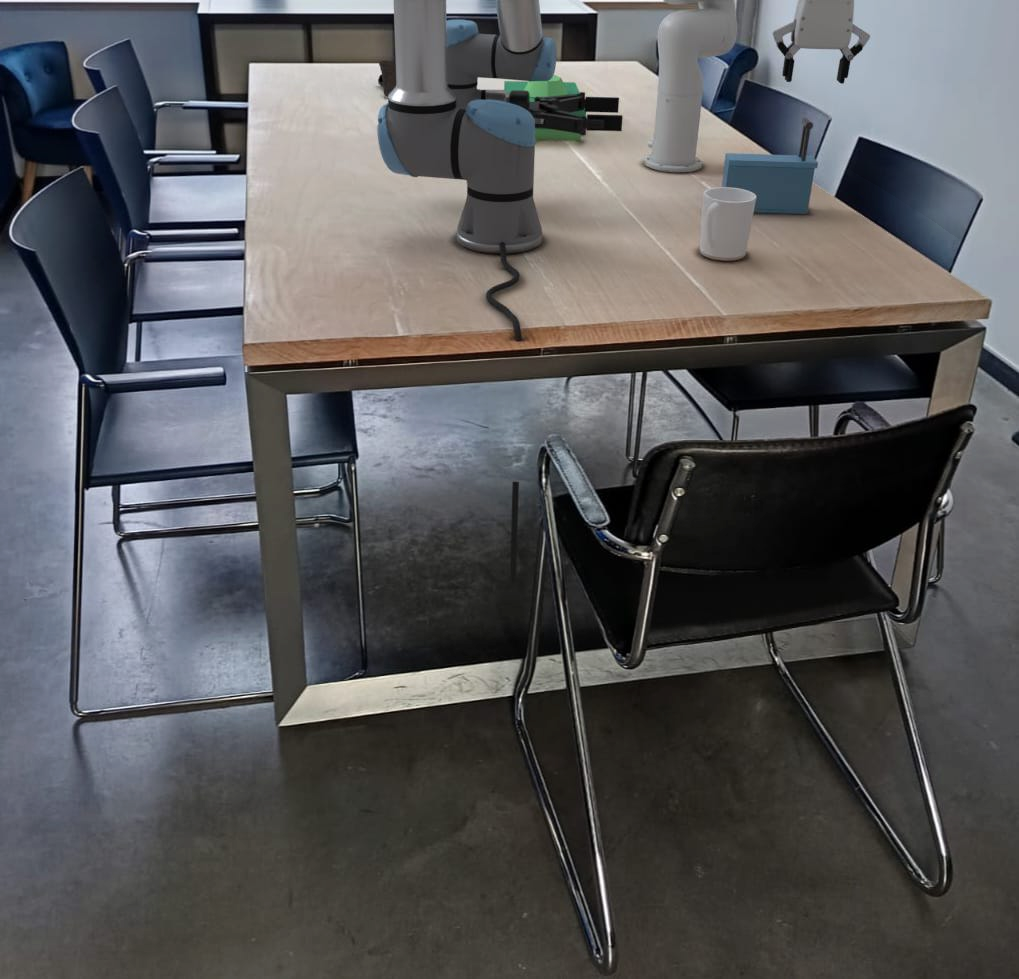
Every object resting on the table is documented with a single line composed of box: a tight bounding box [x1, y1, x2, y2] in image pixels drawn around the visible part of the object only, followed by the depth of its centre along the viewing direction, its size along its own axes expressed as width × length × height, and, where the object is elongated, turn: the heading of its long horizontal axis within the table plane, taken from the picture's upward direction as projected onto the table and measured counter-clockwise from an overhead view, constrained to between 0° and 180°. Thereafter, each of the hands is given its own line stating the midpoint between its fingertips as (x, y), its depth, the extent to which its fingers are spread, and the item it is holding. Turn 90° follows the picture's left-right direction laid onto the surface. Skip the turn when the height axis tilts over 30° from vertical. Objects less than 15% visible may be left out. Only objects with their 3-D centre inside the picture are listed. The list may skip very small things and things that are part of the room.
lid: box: [724, 117, 819, 169], centre depth 208 cm, size 17×5×8 cm, turn 88°
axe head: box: [377, 59, 397, 98], centre depth 299 cm, size 18×8×15 cm
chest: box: [721, 158, 816, 215], centre depth 213 cm, size 16×5×9 cm, turn 88°
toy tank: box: [503, 74, 587, 142], centre depth 266 cm, size 18×12×35 cm
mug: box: [699, 186, 756, 262], centre depth 189 cm, size 11×9×10 cm
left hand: (620, 113), depth 207 cm, fingers open, 13 cm apart
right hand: (813, 81), depth 202 cm, fingers open, 9 cm apart
